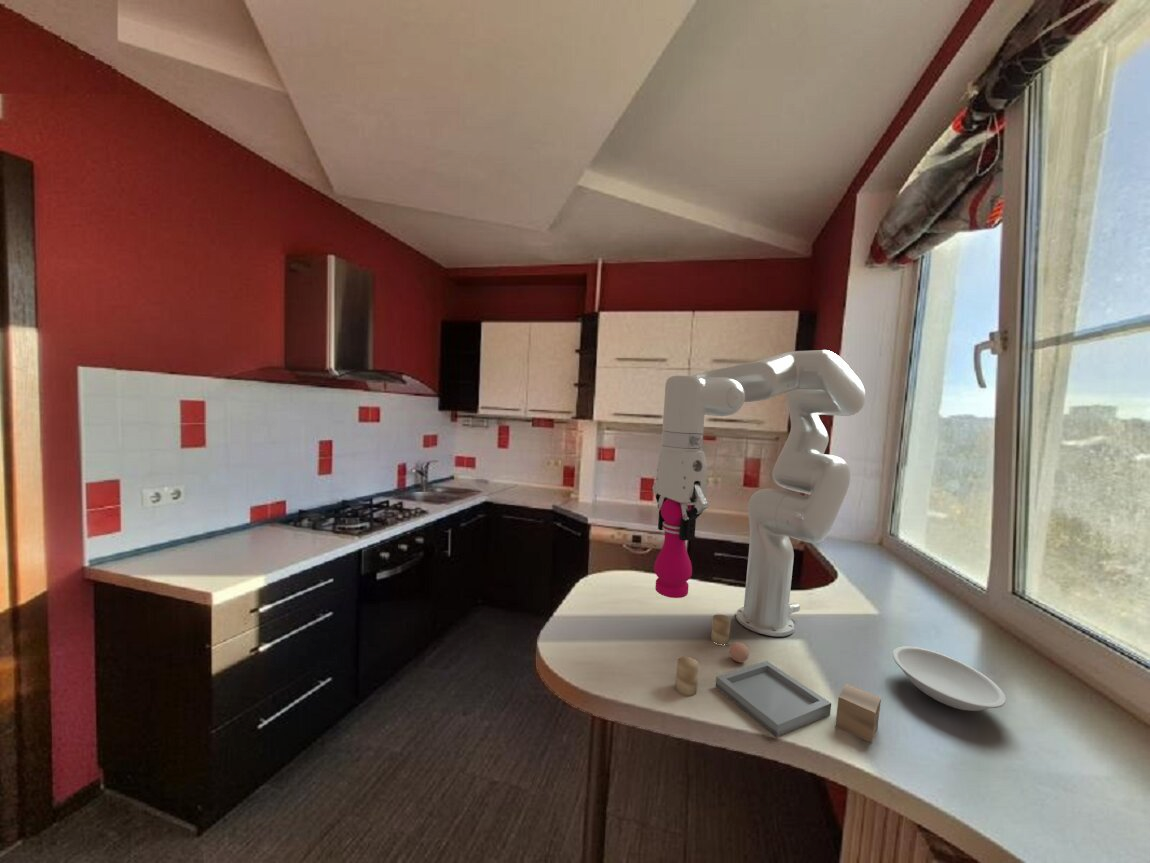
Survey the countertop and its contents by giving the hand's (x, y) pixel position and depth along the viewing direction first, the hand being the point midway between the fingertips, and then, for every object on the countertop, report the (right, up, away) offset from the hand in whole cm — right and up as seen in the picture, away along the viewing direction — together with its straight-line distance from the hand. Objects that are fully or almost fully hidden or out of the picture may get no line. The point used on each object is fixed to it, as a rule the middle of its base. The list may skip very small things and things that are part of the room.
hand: (675, 533), depth 88 cm
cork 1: (0, -26, -7) cm, 27 cm away
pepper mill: (-1, -12, +1) cm, 12 cm away
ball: (+13, -24, +2) cm, 28 cm away
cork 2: (+12, -25, +10) cm, 29 cm away
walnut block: (+26, -28, -14) cm, 41 cm away
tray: (+14, -27, -9) cm, 32 cm away
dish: (+47, -29, -6) cm, 55 cm away
